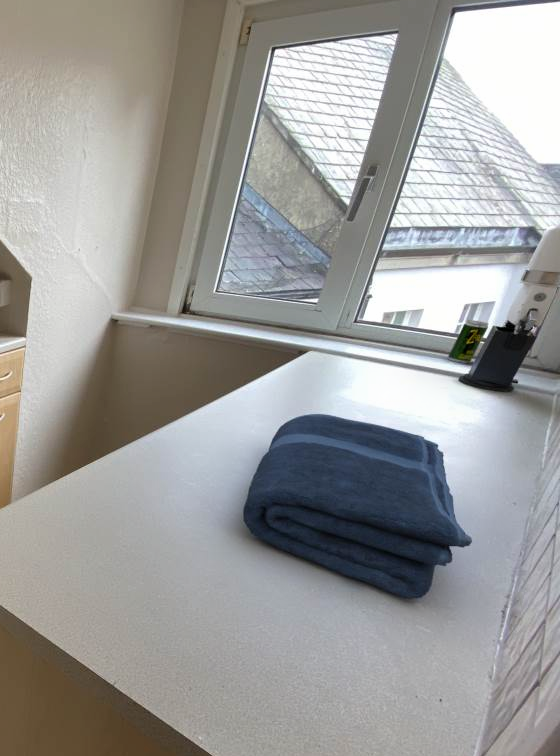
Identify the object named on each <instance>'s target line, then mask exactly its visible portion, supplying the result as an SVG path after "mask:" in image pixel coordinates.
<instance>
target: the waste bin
mask: <svg viewBox="0 0 560 756" xmlns="http://www.w3.org/2000/svg"><path fill="white" fill-rule="evenodd" d="M514 330H515V329H513V328H506V326H504V327H502V326H498V325H492V326H491V328H490V330H489V332H488V334H487V336H486V338H485V340H484V342H483V344H482V346H481V348H480V350H479V352H478V354H477V355H476V358H475V359H474V361H473V362H472V365H471V367H470V369H469V371H468V372H467V373H464V375H463V376H464V377H463V378H464V379H466V380H468V381H470V382H473V383H476V384H480V385H485V386H490V387H496V388H510V387H511V386H513V384H516V385H518V384H519V380H518V379H515V376H516V374H517V373H518V371H519V369H520V368H521V365H522V364H523V362H524V361H525V359H526V357H527V355H528V354H529V351H530V350H531V349H532V346H533V345H534V342H535V340H537V337H538V336H537V335H536V334H535V332H533V330H532V331H531V334H530V335H529V337H528V339H527V341H526V343H525V345H524V347H523V349H522V350H521V351H514V350H507V349H504V347H505V345H506V343H507V341H508V339H509V337H510V335H511V333H513V334H514Z"/></svg>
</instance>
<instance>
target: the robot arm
mask: <svg viewBox="0 0 560 756" xmlns="http://www.w3.org/2000/svg"><path fill="white" fill-rule="evenodd" d="M519 284H522V286H521V287H520V289H519V291H518V292H517V294H516V296H515V298H514V300H513V302H512V304H511V305H510V307H509V309H508V312H507V314H506V316H505V317H506V320H505V322H504V323H503V325H502V326H501V327H506V328H513V329H515V330H514V334H513V333H511V335H510V337H509V339H508V341H507V343H506V345H505V347H504V349H507V350H514V351H521V350H522V349H523V347H524V345H525V343H526V341H527V339H528V337H529V335H530V334H531V331H532V332H533V329H534V328H539V327H541V326H542V324H543V321H544V319H545V318H546V315H547V313H548V311H549V309H550V307H551V305H552V303H553V300H554V298H555V296H556V293H557V290H558V288H560V224H552V225H549V226H548V227H547V228H546V230H545V231H544V233H543V235H542V237H541V238H540V241H539V242H538V244H537V247H536V249H535V250H534V251H533V254H532V256H531V258H530V260H529V262H528V264H527V266H526V268H525V270H524V272H523V274H522V276H521V278H520V280H519Z"/></svg>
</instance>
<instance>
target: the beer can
mask: <svg viewBox="0 0 560 756" xmlns="http://www.w3.org/2000/svg"><path fill="white" fill-rule="evenodd" d="M488 329H489V323H488V322H486V321H480V320H474V319H468V320H466V322H464V324H463V326H462V328H461V330H460V331H459V334H458V335H457V338H456V340H455V341H454V343H453V346H452V348H451V349H450V352H449V354H448V356H447V359H448V360H449V361H452V362H454V363H455V362H456V363H460V364H469V363H470V362H471V361H472V360H473V357H474V355H475V354H476V351H477V350H478V348H479V346H480V344H481V342H482V341H483V338H484V336H485V334H486V333H487V331H488Z"/></svg>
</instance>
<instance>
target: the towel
mask: <svg viewBox="0 0 560 756" xmlns="http://www.w3.org/2000/svg"><path fill="white" fill-rule="evenodd" d="M444 457H445V456H444V452H443V451H440V450H439V444H438V443H436V442H433V441H431V440H428V439H426V438H425V437H424V436H422V435H419V434H414V433H410V432H406V431H403V430H400V429H397V428H393V427H388V426H383V425H380V424H375V423H371V422H370V423H369V422H364V421H360V420H353V419H350V418H349V419H348V418H343V417H340V416H335V415H331V414H324V413H310V414H304V415H300V416H299V415H298V416H296V417H294V418H292V419H290V420H288V421H286V422H285V423H284V424H282V425H281V426H280V427H279V428H278V429H277V431H276V433H275V434H274V435H273V437H272V440H271V442H270V445H269V448H268V451H266V453H265V454H264V455H263V456H262V458H261V460H260V461H259V463H258V466H257V467H256V471H255V472H254V475H253V477H252V479H251V482H250V484H249V487H248V491H247V496H246V500H245V503H244V505H243V510H242V511H243V512H242V514H243V517H242V518H243V522H244V524H245V526H246V527H247V529H248V530H249V531H250V533H251V534H252V535H253V536H254V537H257V538H258V539H260V540H261V541H263V542H265V543H267V544H269V545H271V546H273V547H274V548H277V549H279V550H281V551H284V552H288V553H290V554H292V555H294V556H297V557H300V558H302V559H306V560H308V561H310V562H314V563H317V564H319V565H320V566H322V567H325V568H327V569H330V570H333V571H335V572H338V573H341V574H342V575H344V576H347V577H350V578H353V579H356V580H359V581H362V582H365V583H366V584H370V585H373V586H374V587H377V588H379V589H382V590H383V591H386V592H389V593H392V594H394V595H397V596H400V597H401V598H402V597H403V598H407V599H408V600H409V599H410V600H412V599H413V600H414V599H421V598H423V597H424V596H425V595H426V594H427V593H429V592H430V589H431V587H432V584H433V577H434V573H435V568H436V566H442V567H446V566H447V564H450V563H452V562H453V553H452V550H451V547H457V548H465V547H469V546H471V544H472V543H473V539H472V536H470V535H469V534H467V533H466V531H464V529H463V528H462V527H461V526H460V524H459V523H458V521H457V518H456V514H455V507H454V497H453V495H452V494H451V493H450V492H451V489H450V488H451V487H450V485H449V484H448V481H447V473H446V469H445V465H444V463H445V460H444Z"/></svg>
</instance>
